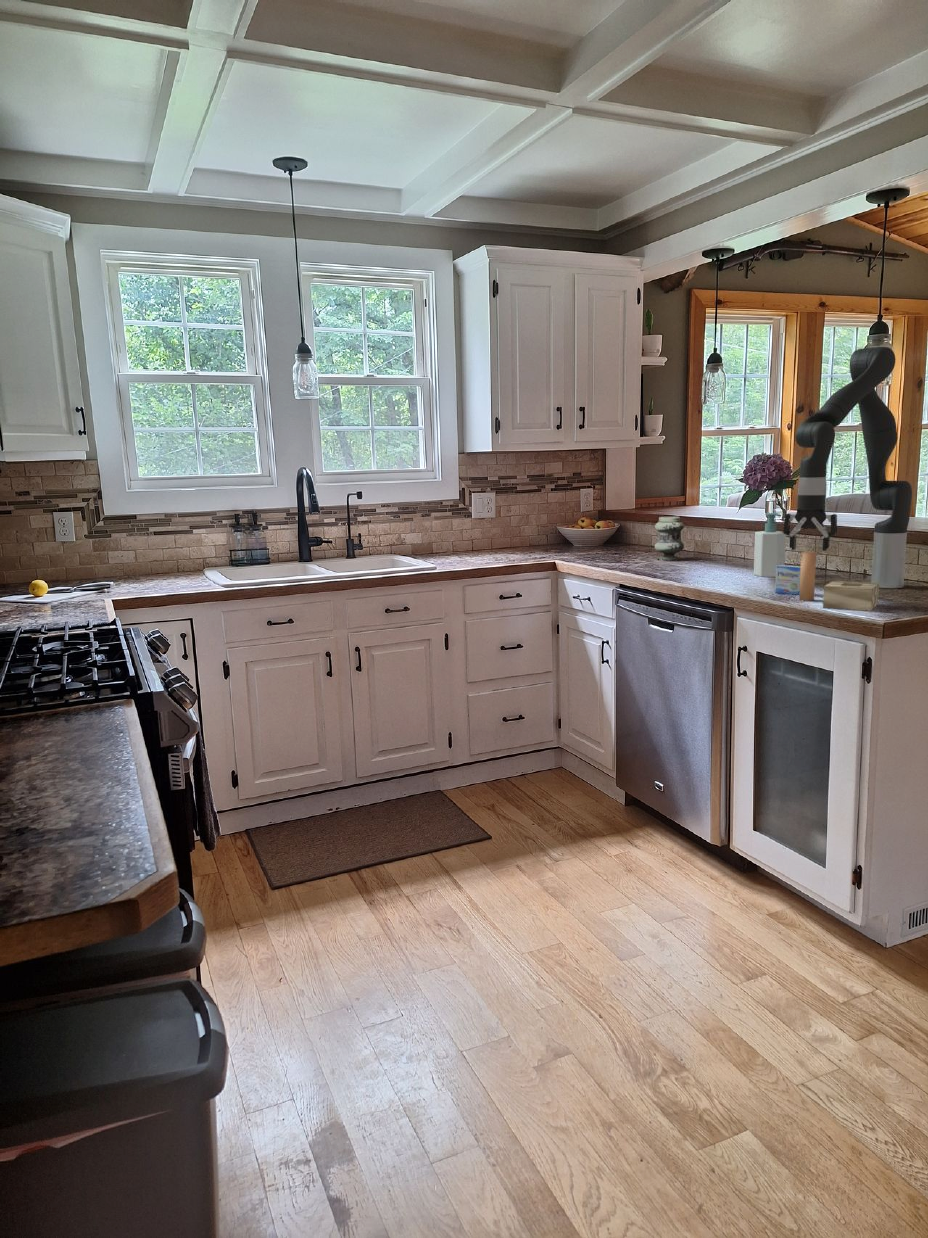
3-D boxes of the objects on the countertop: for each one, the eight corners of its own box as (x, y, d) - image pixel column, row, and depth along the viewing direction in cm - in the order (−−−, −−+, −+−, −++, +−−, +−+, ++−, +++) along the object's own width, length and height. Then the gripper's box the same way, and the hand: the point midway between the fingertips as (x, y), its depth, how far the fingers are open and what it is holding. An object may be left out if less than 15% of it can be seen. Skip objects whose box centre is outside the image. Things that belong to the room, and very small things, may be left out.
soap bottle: (772, 577, 296) (775, 514, 292) (749, 575, 303) (751, 513, 299) (788, 575, 302) (791, 512, 299) (765, 572, 309) (767, 512, 306)
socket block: (832, 601, 245) (833, 580, 244) (877, 604, 238) (879, 583, 237) (822, 607, 235) (824, 586, 234) (870, 611, 229) (871, 588, 227)
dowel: (801, 598, 252) (803, 551, 249) (815, 599, 249) (817, 551, 247) (797, 600, 248) (799, 552, 246) (812, 601, 246) (814, 553, 244)
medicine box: (774, 593, 262) (775, 565, 261) (781, 591, 265) (782, 564, 264) (799, 596, 257) (800, 567, 255) (806, 594, 260) (807, 566, 258)
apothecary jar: (666, 557, 367) (667, 515, 363) (689, 559, 357) (690, 516, 354) (648, 560, 359) (649, 517, 356) (672, 562, 350) (672, 518, 347)
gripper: (841, 493, 242) (837, 549, 245) (789, 493, 250) (786, 548, 253) (835, 493, 236) (832, 552, 239) (782, 493, 244) (780, 550, 247)
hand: (808, 550), depth 246 cm, fingers open, 8 cm apart
